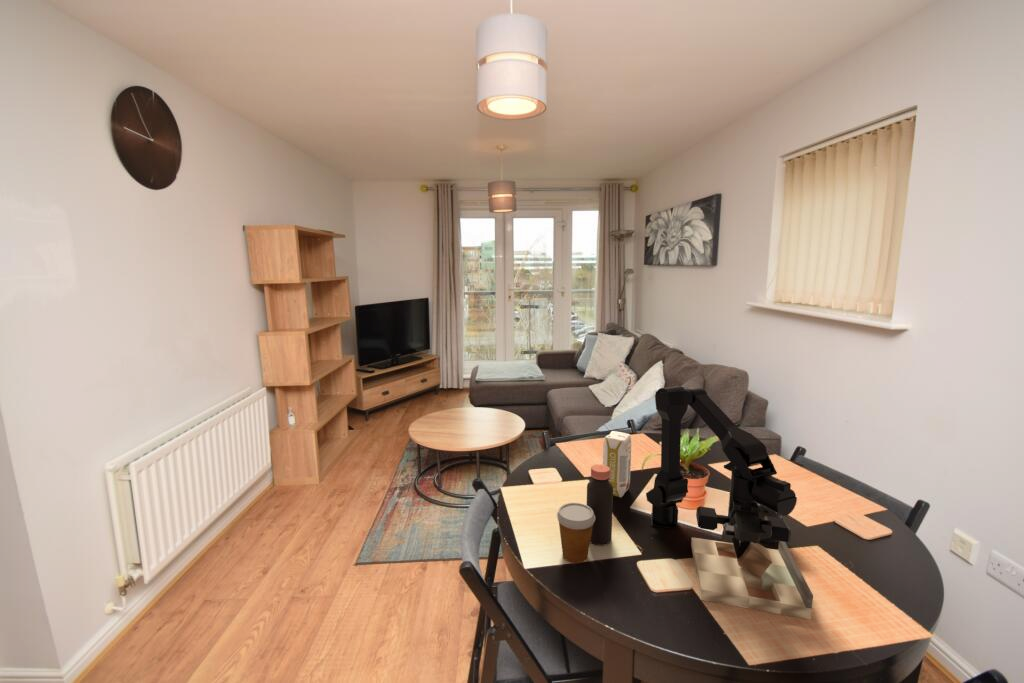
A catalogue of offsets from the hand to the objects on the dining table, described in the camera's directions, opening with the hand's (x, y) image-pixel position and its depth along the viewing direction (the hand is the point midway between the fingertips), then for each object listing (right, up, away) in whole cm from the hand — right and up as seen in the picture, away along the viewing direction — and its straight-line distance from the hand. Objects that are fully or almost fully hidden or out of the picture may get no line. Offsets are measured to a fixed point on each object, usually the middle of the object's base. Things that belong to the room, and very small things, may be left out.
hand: (738, 557), depth 104 cm
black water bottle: (-29, -3, +17) cm, 34 cm away
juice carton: (-19, +1, +42) cm, 46 cm away
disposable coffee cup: (-36, -4, +9) cm, 38 cm away
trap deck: (+2, -5, +1) cm, 5 cm away
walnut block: (+2, -2, 0) cm, 3 cm away
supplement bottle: (+16, -3, +17) cm, 24 cm away
